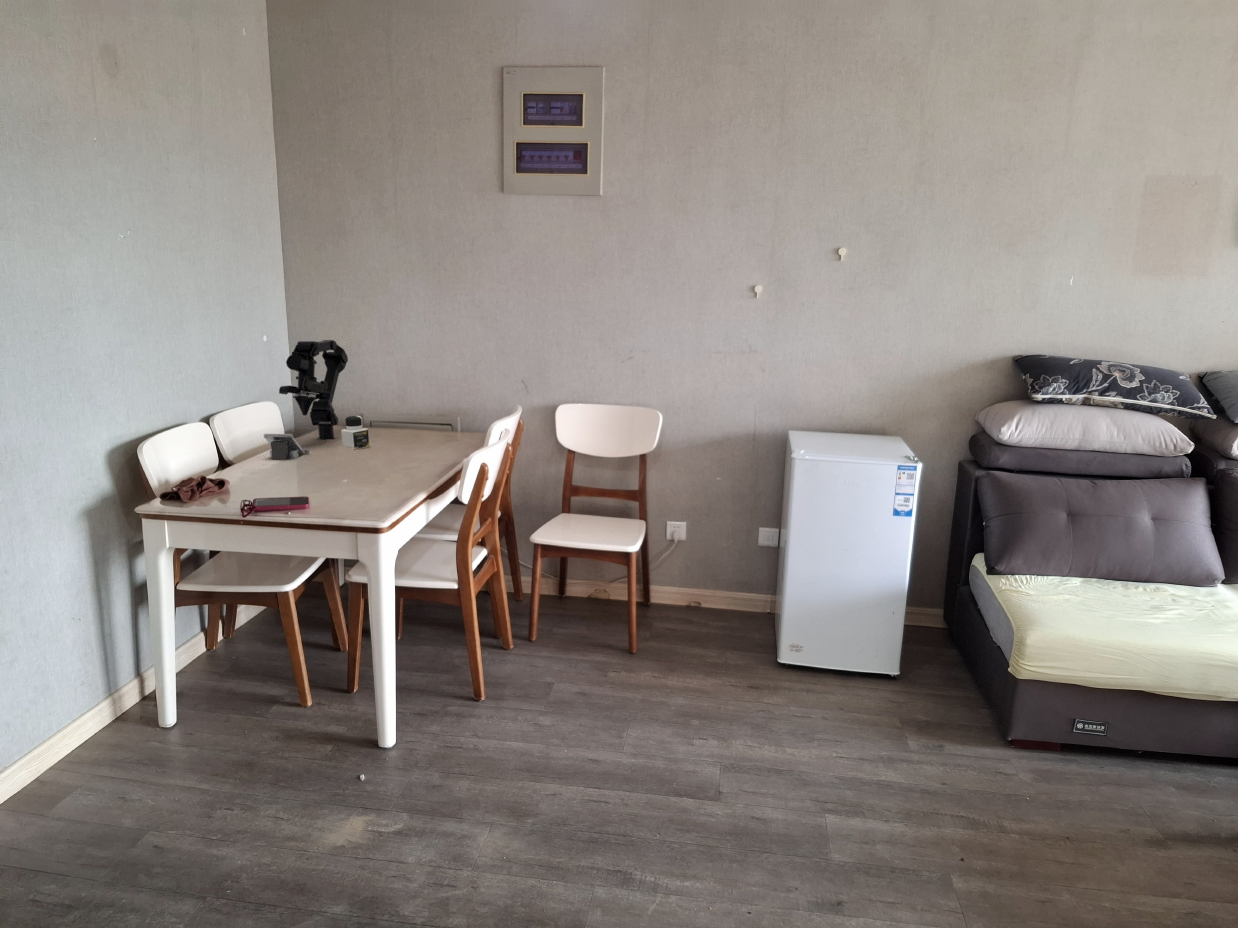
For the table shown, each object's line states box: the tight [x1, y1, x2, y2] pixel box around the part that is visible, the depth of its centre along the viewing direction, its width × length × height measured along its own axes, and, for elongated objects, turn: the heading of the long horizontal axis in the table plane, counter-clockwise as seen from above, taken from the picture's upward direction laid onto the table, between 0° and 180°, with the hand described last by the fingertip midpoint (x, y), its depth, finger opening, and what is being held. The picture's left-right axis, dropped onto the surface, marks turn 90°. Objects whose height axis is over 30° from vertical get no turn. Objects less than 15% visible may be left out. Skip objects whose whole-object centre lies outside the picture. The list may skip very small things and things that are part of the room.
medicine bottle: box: [340, 415, 370, 451], centre depth 316 cm, size 7×7×12 cm
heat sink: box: [269, 441, 310, 461], centre depth 297 cm, size 10×13×7 cm
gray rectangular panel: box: [263, 433, 305, 455], centre depth 297 cm, size 12×10×1 cm
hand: (304, 415), depth 312 cm, fingers closed
